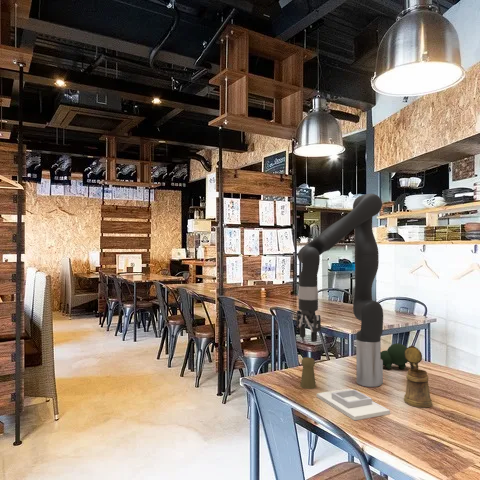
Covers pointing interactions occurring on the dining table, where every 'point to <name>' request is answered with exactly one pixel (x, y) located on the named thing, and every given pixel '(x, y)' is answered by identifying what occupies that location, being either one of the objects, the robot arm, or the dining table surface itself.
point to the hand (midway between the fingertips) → (308, 339)
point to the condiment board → (353, 404)
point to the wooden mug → (416, 381)
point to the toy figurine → (394, 356)
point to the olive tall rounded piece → (308, 373)
